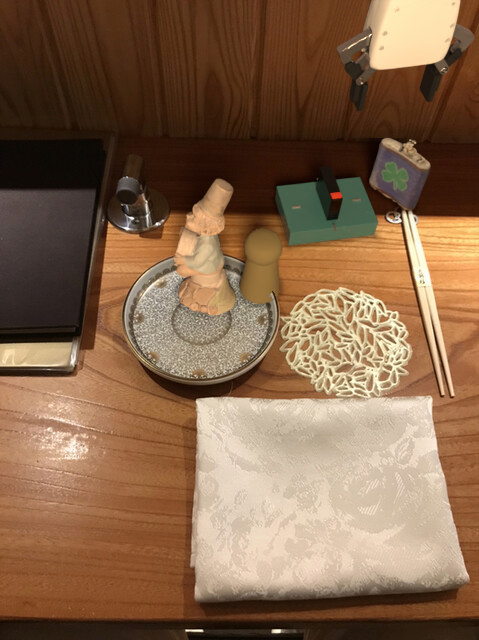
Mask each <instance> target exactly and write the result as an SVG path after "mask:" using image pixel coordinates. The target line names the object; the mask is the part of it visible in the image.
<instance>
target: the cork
mask: <svg viewBox="0 0 479 640" xmlns="http://www.w3.org/2000/svg"><path fill="white" fill-rule="evenodd" d="M283 248H284V245H283V241H282V238H281V236H280V235H279V234H278V233H277V232H275V231H274V230H273V229H270V228H265V227H262V228H261V227H260V228H257V229H254V230H252V231H250V233H248V234H247V236H246V238H245V239H244V244H243V251H244V254H245V256H246V259H245V262H244V266H243V270H242V274H241V277H240V281H239V285H238V287H239V292H240V294H241V296H242V297H243V298H244V299H245V300H247V301H248V302H250V303H253V304H258V305H260V304H267V303H270V302H272V301H273V300H272V297H269V295H270V294H271V293H272V291H273V292H274V293H275V296H276V297H278V295H279V293H280V289H281V285H280V272H279V271H280V270H279V259H280V257H281V255H282V254H283ZM268 297H269V298H268Z"/></svg>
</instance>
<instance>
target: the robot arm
mask: <svg viewBox="0 0 479 640" xmlns="http://www.w3.org/2000/svg"><path fill="white" fill-rule="evenodd" d="M461 1H462V0H371V1H370V3H369V7H368V11H367V14H366V16H365V17H366V18H365V20H364V21H365V22H364V24H363V29H362V32H360V33H358V34H356V35H355V36H353V37H352V38H351V37H350V38H349V39H348V40H346V41H344V42H343V43H341V44H340V45H338V46H337V47H336V52H337V55H338V57H339V59H340V62H341V64H342V67H343V69H344V71H345V73H346V74H347V75H348V76H349V77H351V84H350V88H349V97H348V98H349V100H350V102H351V103H353V105H354V107H355V109H356V111H357V112H362V111H363V110H364V109H365V104H366V100H367V97H368V96H367V95H368V90H369V83H368V80H369V79H370V78H371V77H372V76H373V75H374V74H375V73H376V72H377V71H378V70H379V71H384V70H392V69H402V68H408V67H409V68H410V67H417V66H424V65H425V68H424V71H423V74H422V78H421V80H420V85H419V91H420V93H421V94H422V96H423V99H424V100H425V101H426V102H427V103H433V101H434V98H435V95H436V93H437V92H438V91H439V87H440V84H441V81H442V79H443V76H444V75H446V74H447V73H448V72H449V71H450V67H451V66H452V65H453V64H455V63H456V62H457V61H459V60H460V59H461V58H462V57H463V53H464V52H465V51H466V50H467V49H468V47H469V46H470V45H471V44H472V43H473V41H475V37H476V36H475V35H474V34H473V32H472V31H471V30H470V28H467V27H465V26H463V25H461V24H459V23H458V22H457V21H458V17H459V13H460V7H461ZM453 39H455V41H454V42H453V41H452V40H453ZM452 42H453V43H452ZM451 43H452V44H451ZM359 51H361V52H363V53H362V54H361V55H360V56H359V57H358V58H357V60H355V61H354V60H353V56H354V55H355V54H357V53H358V52H359Z"/></svg>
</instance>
